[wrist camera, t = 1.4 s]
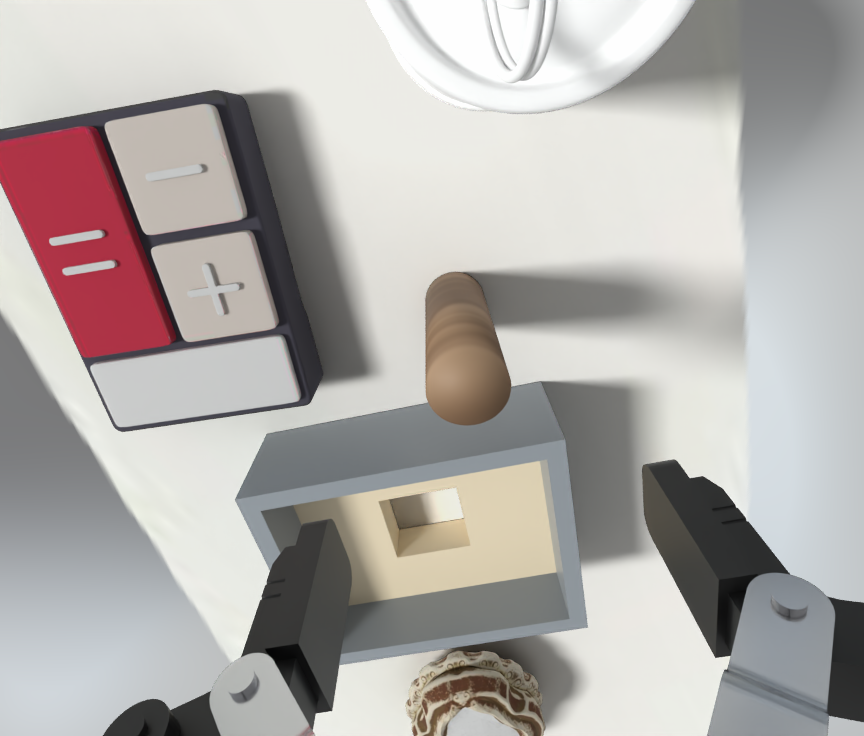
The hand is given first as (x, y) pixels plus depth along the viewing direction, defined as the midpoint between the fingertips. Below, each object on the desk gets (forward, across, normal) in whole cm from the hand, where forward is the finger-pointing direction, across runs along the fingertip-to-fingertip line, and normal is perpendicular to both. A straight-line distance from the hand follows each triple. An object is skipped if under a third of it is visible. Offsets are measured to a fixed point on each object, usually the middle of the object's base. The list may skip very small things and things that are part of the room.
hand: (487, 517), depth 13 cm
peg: (+17, 0, 0) cm, 17 cm away
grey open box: (+17, +4, +13) cm, 22 cm away
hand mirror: (+17, +5, +41) cm, 45 cm away
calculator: (+17, +13, -5) cm, 22 cm away
